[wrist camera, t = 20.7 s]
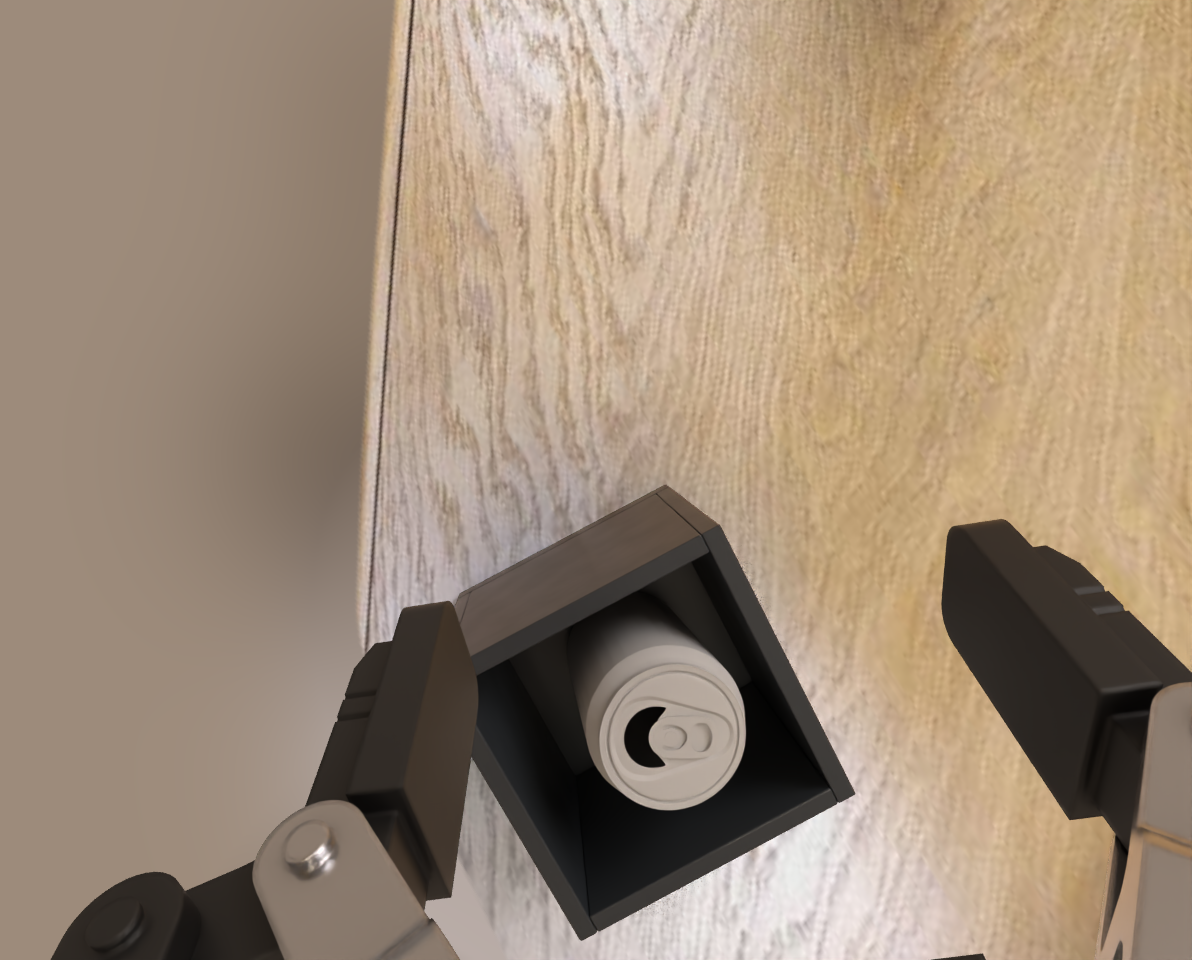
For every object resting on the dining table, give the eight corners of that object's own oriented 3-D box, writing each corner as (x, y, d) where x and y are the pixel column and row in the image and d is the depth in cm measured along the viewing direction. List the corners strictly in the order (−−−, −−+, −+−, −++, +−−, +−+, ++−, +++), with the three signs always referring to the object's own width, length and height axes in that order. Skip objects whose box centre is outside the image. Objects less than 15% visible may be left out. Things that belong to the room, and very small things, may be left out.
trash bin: (568, 784, 42) (580, 942, 30) (459, 593, 40) (425, 680, 28) (766, 679, 42) (856, 794, 30) (666, 483, 40) (719, 524, 28)
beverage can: (565, 589, 39) (588, 658, 27) (685, 587, 40) (757, 653, 28) (565, 707, 40) (587, 826, 28) (683, 703, 40) (755, 817, 28)
